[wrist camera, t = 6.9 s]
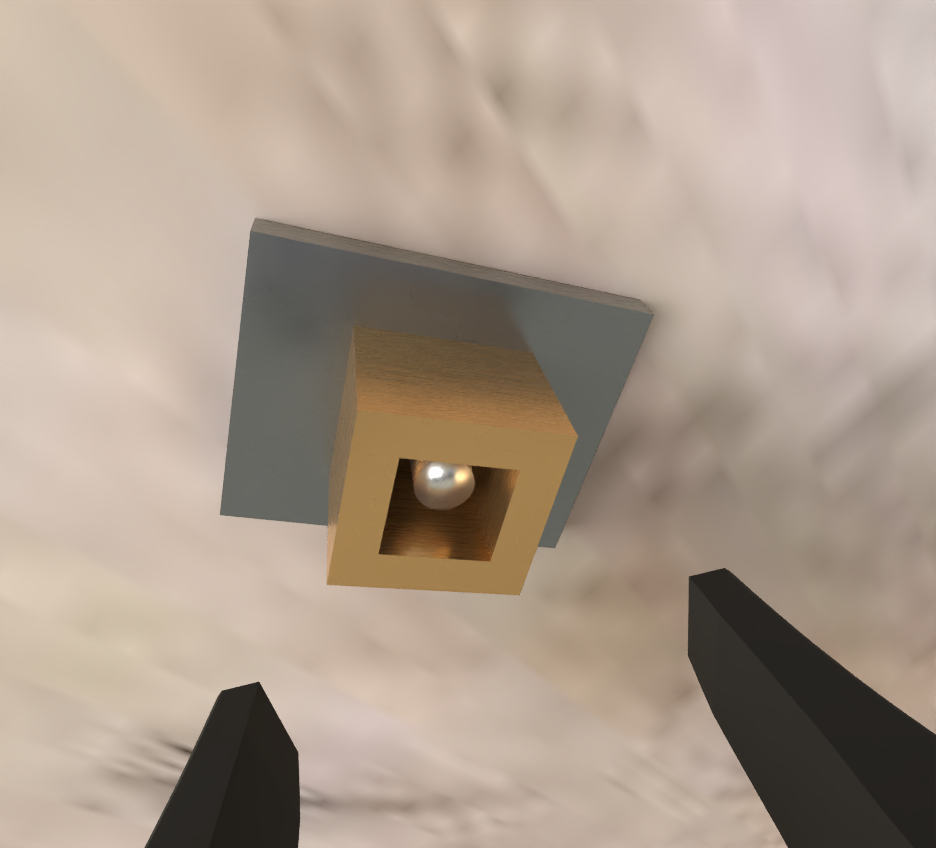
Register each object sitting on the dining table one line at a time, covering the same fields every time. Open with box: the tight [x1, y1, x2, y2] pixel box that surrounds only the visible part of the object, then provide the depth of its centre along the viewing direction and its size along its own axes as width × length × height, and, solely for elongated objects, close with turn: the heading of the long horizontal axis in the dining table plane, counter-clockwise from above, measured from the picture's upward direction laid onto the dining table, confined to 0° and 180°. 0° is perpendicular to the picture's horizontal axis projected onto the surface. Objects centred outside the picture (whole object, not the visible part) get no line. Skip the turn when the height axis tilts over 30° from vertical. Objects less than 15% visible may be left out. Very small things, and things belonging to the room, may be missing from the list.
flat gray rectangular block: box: [220, 218, 654, 548], centre depth 17 cm, size 10×8×4 cm
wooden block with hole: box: [327, 326, 578, 595], centre depth 16 cm, size 5×5×4 cm
